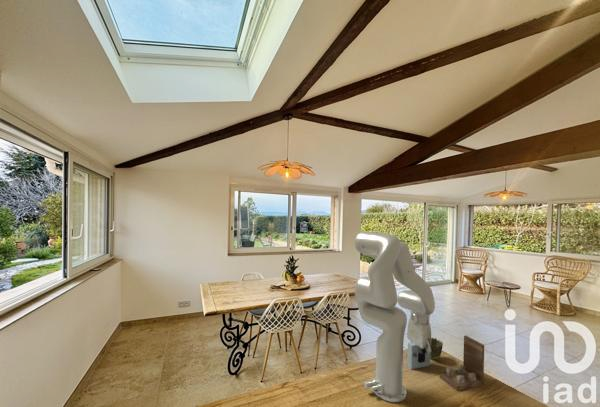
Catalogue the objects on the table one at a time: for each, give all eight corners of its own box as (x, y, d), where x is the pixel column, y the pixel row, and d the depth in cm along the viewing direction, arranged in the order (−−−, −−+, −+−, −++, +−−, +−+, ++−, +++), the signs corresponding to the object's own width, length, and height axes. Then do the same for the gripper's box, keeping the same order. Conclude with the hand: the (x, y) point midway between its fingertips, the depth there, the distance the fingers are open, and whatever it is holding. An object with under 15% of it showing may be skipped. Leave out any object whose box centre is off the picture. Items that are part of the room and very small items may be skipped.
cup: (438, 354, 126) (438, 337, 126) (445, 363, 119) (445, 345, 119) (422, 353, 127) (422, 336, 127) (427, 362, 119) (428, 344, 119)
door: (412, 370, 113) (413, 346, 113) (407, 366, 116) (408, 342, 116) (431, 366, 116) (431, 343, 116) (425, 362, 119) (426, 340, 119)
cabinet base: (456, 390, 101) (457, 349, 101) (439, 377, 109) (440, 339, 109) (484, 384, 105) (484, 344, 106) (465, 372, 113) (466, 335, 113)
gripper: (400, 311, 123) (399, 351, 123) (427, 326, 108) (425, 372, 108) (413, 310, 125) (412, 349, 125) (441, 324, 110) (440, 369, 110)
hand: (418, 359), depth 116 cm, fingers closed on door, 2 cm apart
